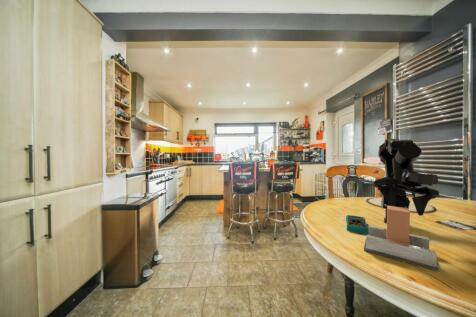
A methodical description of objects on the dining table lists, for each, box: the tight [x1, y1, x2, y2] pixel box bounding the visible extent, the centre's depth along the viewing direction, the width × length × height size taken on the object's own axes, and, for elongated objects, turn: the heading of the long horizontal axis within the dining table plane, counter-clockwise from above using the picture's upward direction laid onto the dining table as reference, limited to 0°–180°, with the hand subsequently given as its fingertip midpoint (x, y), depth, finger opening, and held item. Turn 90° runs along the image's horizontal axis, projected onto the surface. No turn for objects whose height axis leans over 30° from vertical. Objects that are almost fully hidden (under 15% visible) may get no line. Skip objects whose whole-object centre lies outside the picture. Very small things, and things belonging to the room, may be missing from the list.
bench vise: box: [363, 225, 440, 272], centre depth 59 cm, size 20×16×4 cm
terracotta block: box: [386, 205, 411, 245], centre depth 56 cm, size 5×5×12 cm
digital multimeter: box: [345, 214, 369, 235], centre depth 76 cm, size 7×15×3 cm, turn 150°
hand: (407, 212), depth 62 cm, fingers open, 9 cm apart
